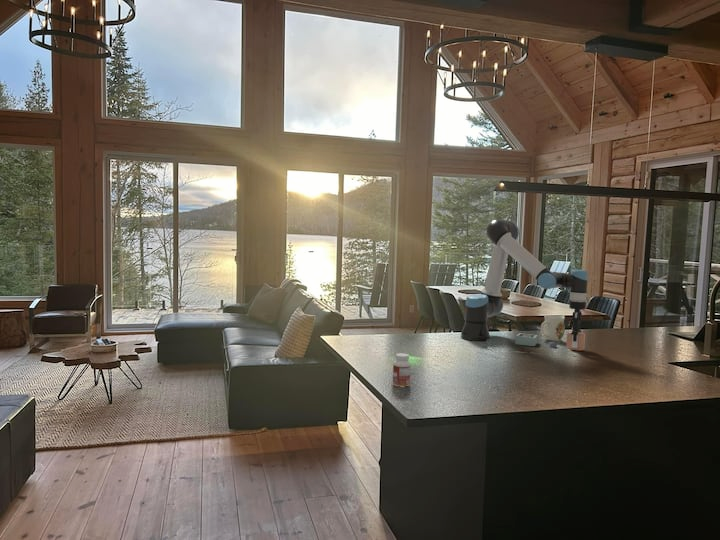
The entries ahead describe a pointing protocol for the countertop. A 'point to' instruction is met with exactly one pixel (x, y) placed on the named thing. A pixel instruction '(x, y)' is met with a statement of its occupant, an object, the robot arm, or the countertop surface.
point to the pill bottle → (401, 370)
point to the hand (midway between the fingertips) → (575, 346)
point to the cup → (580, 341)
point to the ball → (553, 345)
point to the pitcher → (553, 327)
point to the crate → (526, 339)
